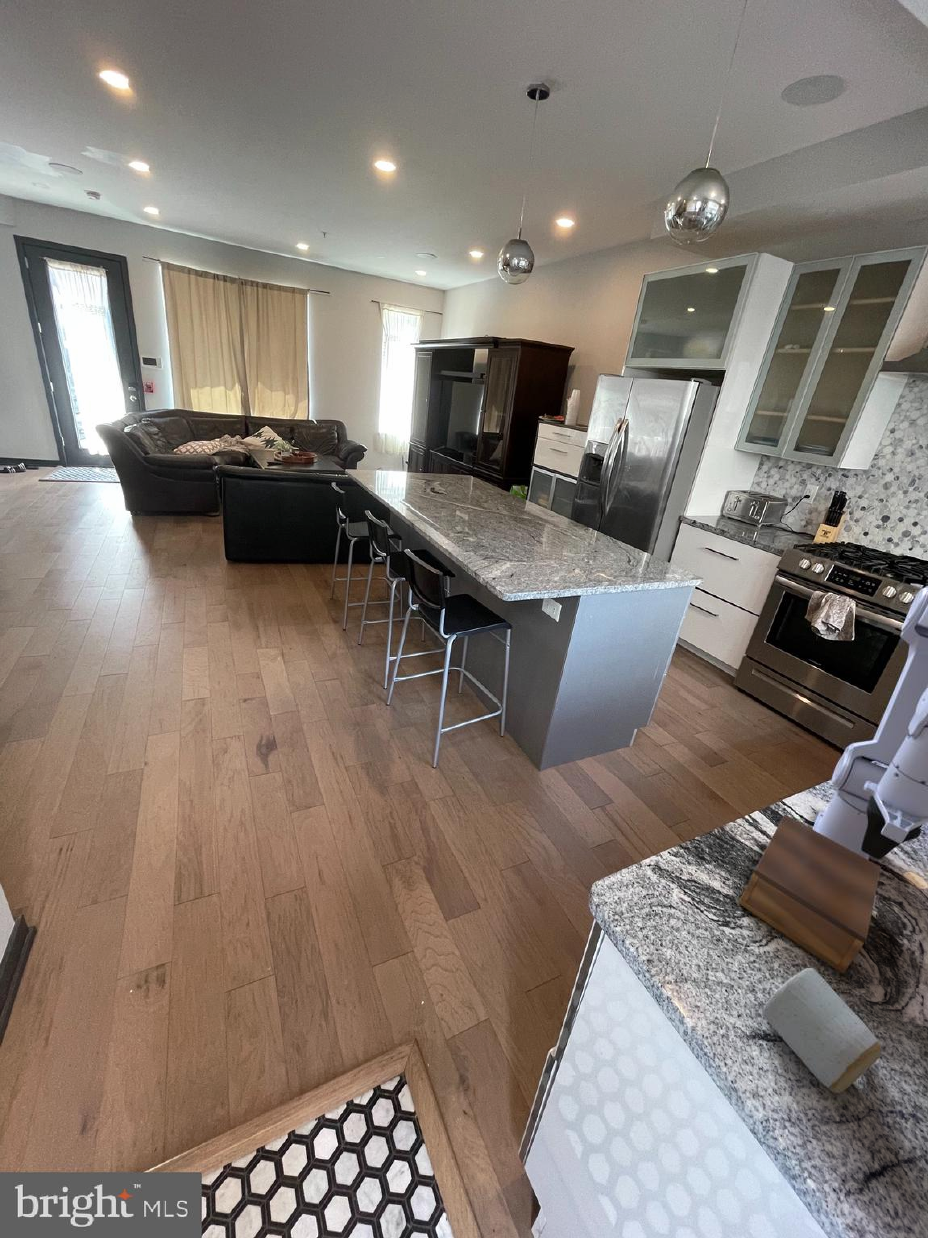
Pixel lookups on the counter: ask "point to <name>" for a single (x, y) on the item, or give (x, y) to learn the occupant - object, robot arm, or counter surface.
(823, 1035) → the ceramic mug
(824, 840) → the lid
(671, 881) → the counter surface
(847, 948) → the box
